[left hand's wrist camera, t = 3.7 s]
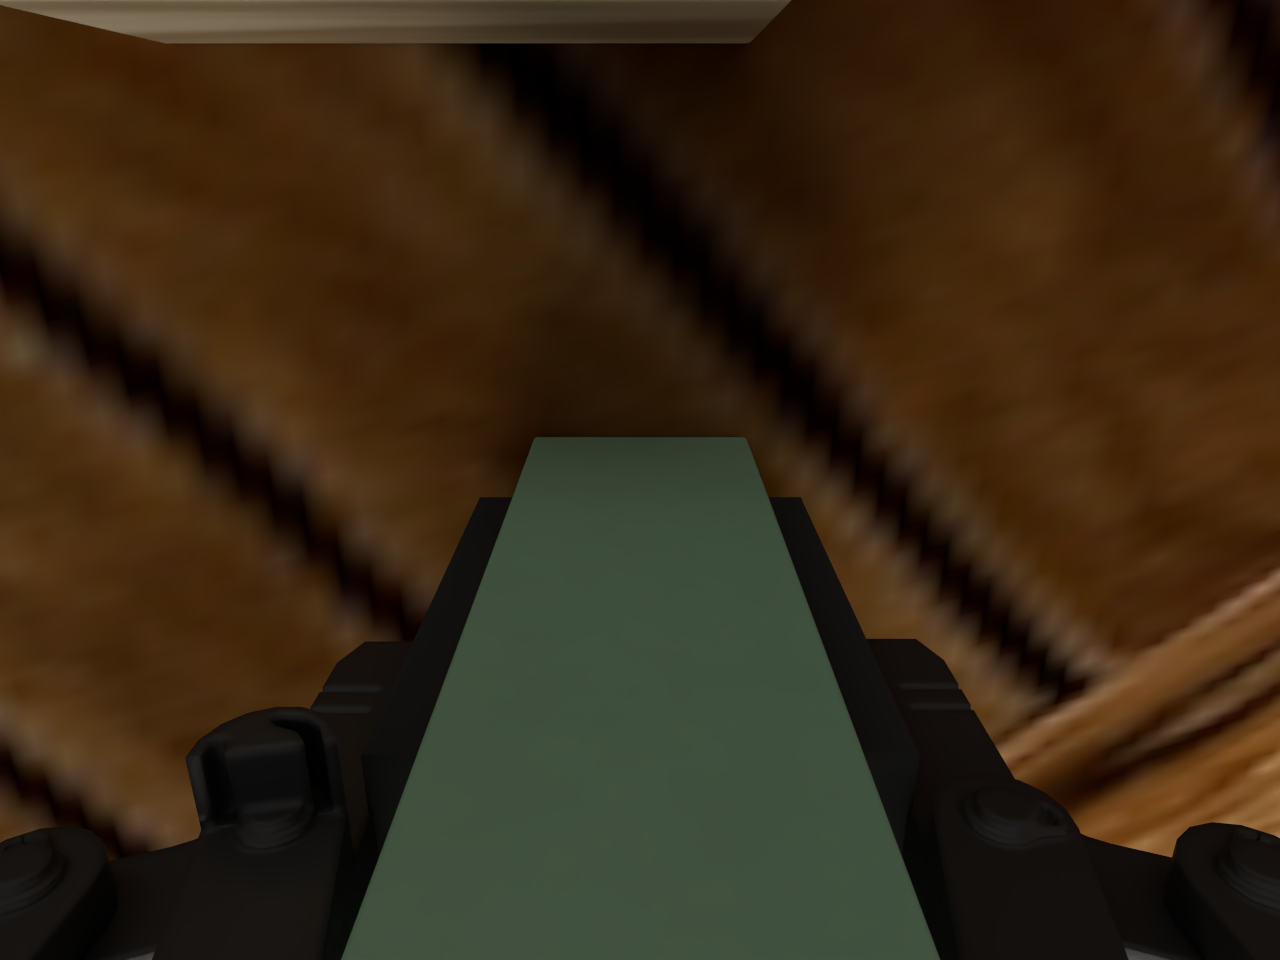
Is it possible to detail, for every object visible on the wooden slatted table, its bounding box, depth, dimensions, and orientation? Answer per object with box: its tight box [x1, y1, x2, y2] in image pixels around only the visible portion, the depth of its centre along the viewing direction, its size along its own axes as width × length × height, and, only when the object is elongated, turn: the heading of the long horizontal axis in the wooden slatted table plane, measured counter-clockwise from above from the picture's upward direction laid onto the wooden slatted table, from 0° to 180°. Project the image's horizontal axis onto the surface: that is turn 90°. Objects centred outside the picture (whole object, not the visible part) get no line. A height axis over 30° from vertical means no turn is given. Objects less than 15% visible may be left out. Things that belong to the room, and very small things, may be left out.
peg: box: [341, 437, 940, 960], centre depth 11 cm, size 4×4×12 cm
